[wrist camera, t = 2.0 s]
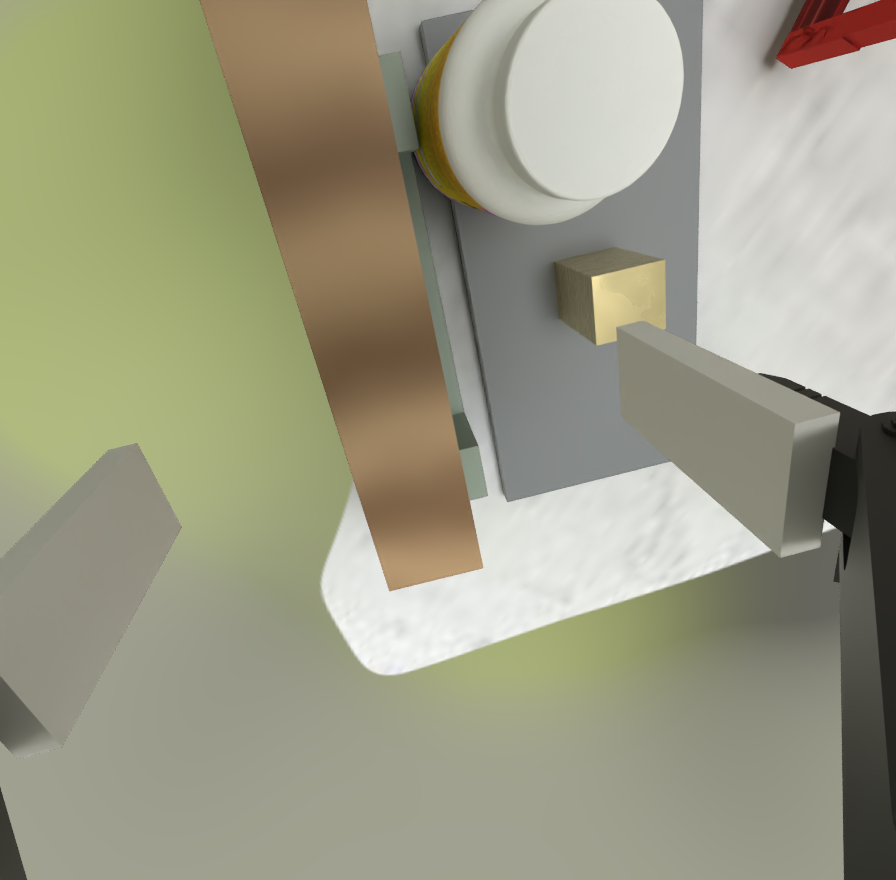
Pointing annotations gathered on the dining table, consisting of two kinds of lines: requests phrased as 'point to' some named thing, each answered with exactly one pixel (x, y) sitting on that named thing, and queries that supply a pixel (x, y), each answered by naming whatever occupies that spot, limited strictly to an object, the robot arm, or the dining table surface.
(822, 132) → the dining table surface
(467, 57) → the supplement bottle
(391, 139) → the long wooden bar
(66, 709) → the robot arm
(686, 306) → the slate board
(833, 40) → the mug
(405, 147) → the green rack
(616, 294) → the wooden block
